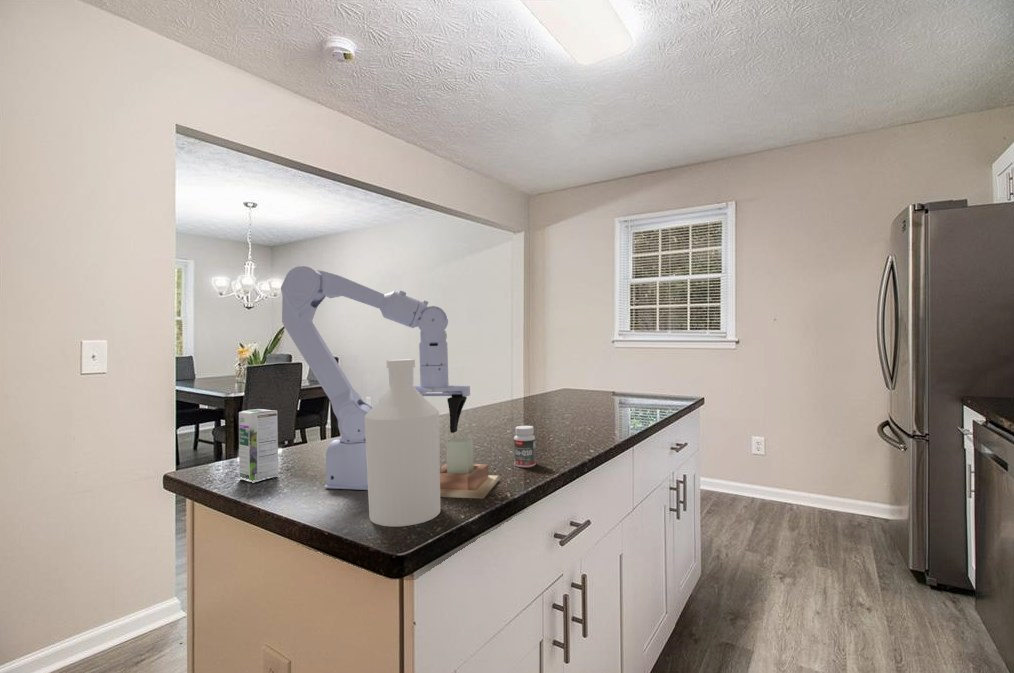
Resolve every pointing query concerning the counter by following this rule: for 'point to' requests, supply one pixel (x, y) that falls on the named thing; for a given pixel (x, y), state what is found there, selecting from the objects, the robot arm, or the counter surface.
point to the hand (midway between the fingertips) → (435, 431)
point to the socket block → (467, 483)
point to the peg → (460, 455)
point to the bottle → (402, 452)
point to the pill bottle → (524, 447)
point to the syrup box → (258, 444)
